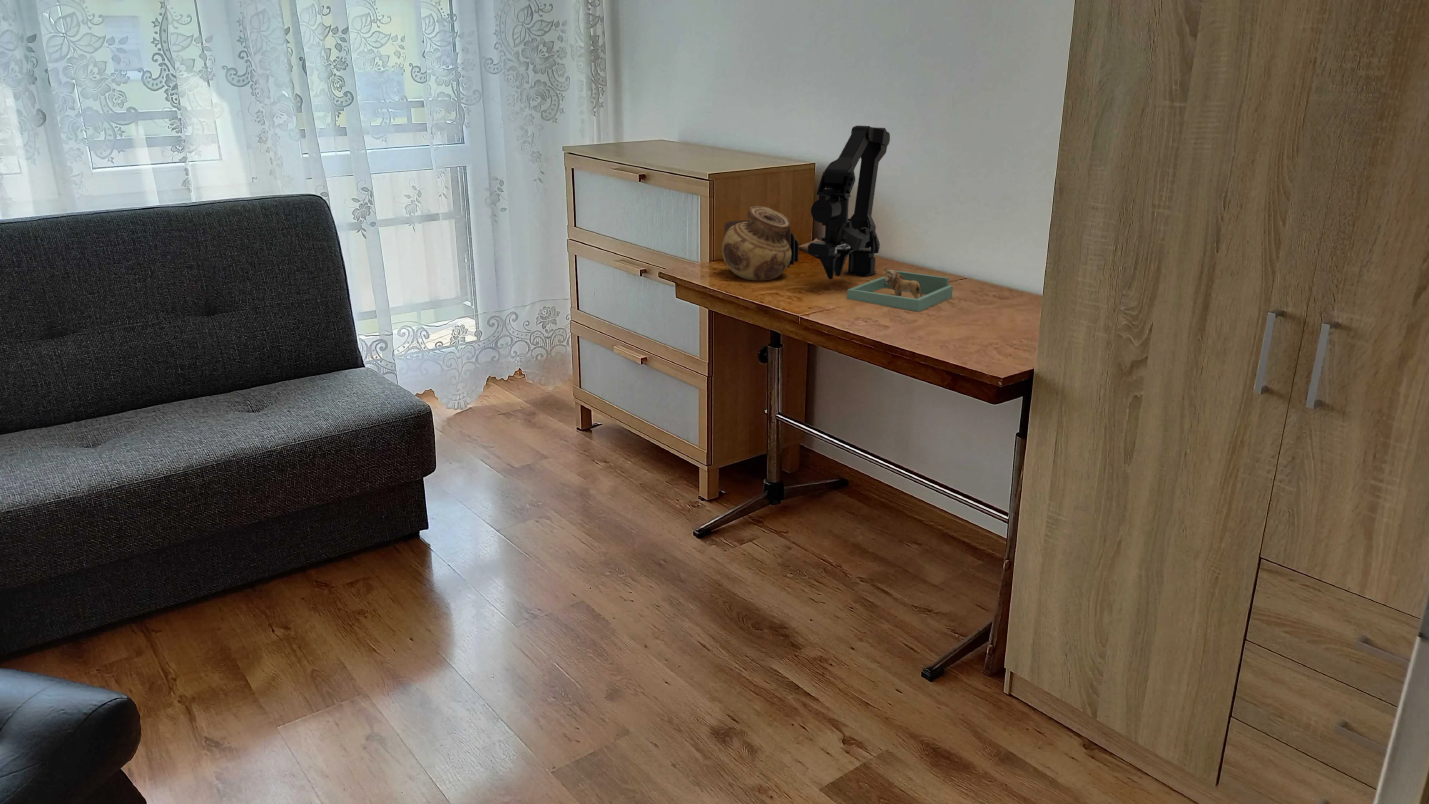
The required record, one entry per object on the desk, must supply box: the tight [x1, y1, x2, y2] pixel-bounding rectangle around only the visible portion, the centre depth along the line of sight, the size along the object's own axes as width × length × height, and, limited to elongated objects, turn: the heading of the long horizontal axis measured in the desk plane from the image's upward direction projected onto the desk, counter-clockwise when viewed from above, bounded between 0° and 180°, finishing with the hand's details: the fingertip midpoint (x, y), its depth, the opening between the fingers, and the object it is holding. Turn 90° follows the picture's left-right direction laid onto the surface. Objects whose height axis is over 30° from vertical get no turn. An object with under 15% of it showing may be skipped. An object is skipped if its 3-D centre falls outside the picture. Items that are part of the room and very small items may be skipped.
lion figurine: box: [884, 269, 923, 299], centre depth 252 cm, size 12×4×7 cm, turn 52°
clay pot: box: [721, 205, 792, 281], centre depth 272 cm, size 19×19×20 cm
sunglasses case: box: [799, 237, 823, 258], centre depth 307 cm, size 18×7×7 cm
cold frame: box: [846, 269, 954, 313], centre depth 253 cm, size 19×19×5 cm
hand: (834, 277), depth 264 cm, fingers open, 3 cm apart
